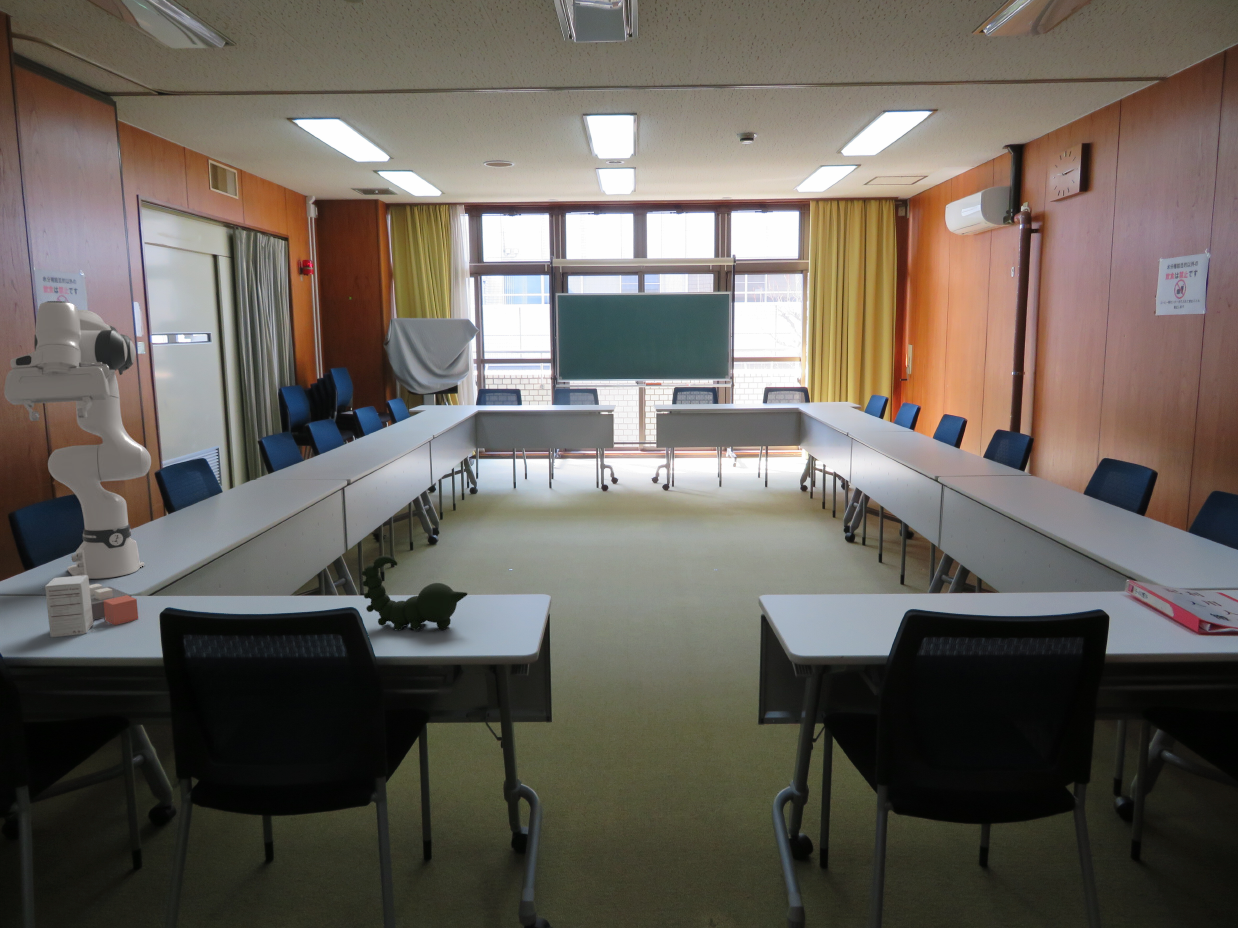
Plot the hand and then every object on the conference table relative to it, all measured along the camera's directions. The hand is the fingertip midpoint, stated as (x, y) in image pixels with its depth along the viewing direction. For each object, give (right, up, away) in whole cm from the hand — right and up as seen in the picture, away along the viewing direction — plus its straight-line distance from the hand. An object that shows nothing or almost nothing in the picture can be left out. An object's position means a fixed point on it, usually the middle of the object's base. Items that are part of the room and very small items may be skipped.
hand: (58, 418), depth 184 cm
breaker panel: (-5, -48, +22) cm, 54 cm away
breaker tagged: (-2, -47, +20) cm, 51 cm away
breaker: (-7, -46, +24) cm, 53 cm away
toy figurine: (+80, -51, +10) cm, 95 cm away
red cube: (+5, -50, +15) cm, 52 cm away
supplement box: (-2, -51, +7) cm, 51 cm away
